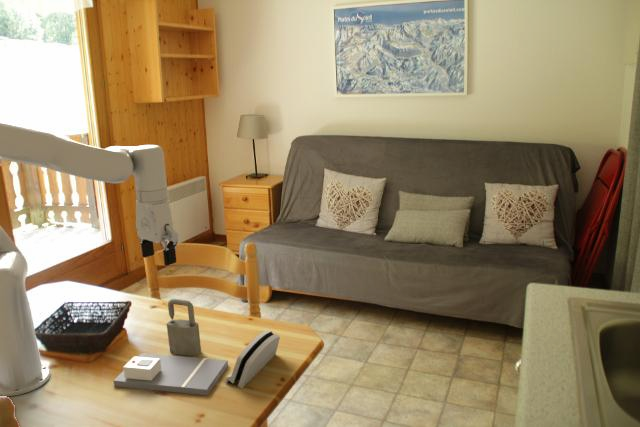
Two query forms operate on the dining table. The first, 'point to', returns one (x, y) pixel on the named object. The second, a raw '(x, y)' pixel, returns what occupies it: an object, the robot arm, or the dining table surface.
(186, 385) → the board
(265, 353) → the grey zipper pouch
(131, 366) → the white electronic device
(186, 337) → the padlock
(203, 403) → the dining table surface
